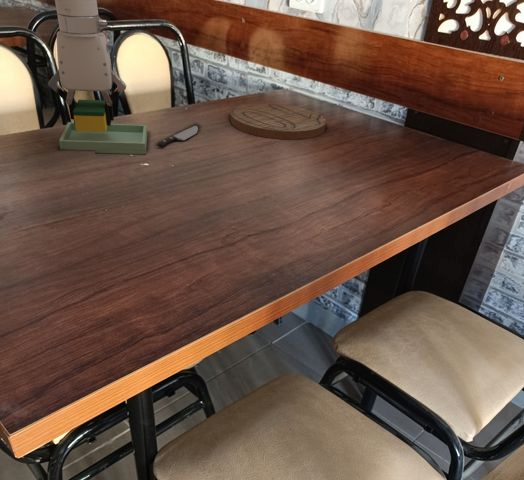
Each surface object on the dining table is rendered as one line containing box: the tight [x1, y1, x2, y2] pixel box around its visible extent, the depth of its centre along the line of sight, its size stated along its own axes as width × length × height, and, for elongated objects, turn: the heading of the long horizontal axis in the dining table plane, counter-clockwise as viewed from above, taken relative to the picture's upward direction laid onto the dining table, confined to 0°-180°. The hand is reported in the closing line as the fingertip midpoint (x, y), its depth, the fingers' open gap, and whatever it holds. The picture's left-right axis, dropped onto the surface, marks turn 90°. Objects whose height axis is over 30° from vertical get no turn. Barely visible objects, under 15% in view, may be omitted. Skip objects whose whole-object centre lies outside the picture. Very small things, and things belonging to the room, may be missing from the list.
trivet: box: [230, 102, 327, 141], centre depth 132 cm, size 25×25×2 cm
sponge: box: [73, 99, 108, 132], centre depth 108 cm, size 6×9×4 cm, turn 8°
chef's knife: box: [157, 125, 199, 148], centre depth 118 cm, size 19×1×3 cm
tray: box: [58, 121, 148, 155], centre depth 111 cm, size 17×13×2 cm
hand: (93, 122), depth 109 cm, fingers closed on sponge, 6 cm apart
